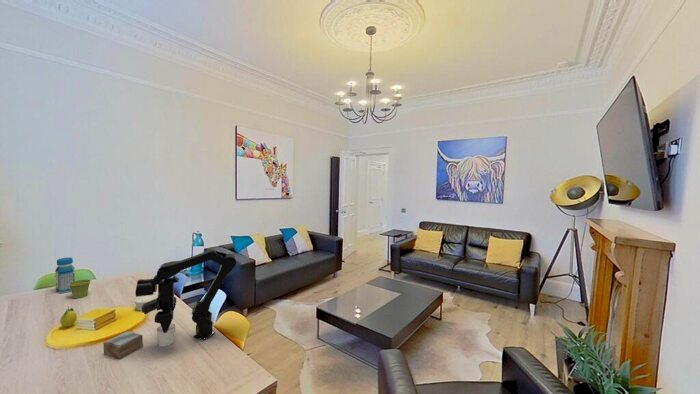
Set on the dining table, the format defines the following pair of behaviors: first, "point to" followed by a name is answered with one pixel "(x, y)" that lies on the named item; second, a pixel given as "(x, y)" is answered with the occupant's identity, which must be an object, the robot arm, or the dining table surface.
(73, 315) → the green pear
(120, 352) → the walnut plinth
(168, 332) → the shot glass
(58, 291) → the beverage bottle
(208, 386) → the dining table surface
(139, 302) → the ramekin
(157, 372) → the dining table surface
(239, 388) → the dining table surface
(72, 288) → the plant pot
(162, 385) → the dining table surface
